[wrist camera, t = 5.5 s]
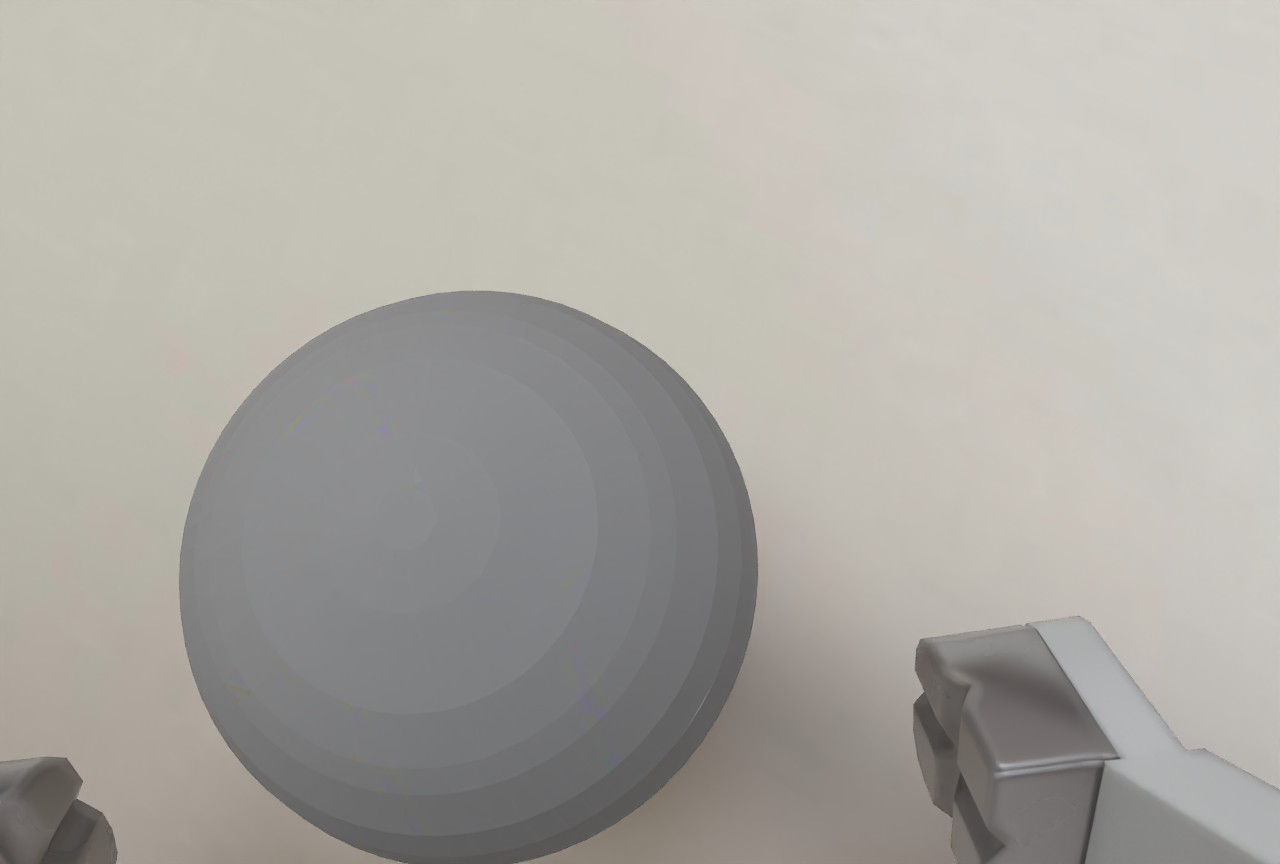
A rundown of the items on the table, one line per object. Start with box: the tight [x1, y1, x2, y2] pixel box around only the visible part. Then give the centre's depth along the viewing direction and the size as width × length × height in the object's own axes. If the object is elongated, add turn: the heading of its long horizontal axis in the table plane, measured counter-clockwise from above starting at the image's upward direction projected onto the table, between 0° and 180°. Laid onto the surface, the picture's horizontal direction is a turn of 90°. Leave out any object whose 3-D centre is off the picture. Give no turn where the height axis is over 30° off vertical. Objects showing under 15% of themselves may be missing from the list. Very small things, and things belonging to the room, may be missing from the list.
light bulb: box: [179, 291, 758, 864], centre depth 11 cm, size 6×6×10 cm
